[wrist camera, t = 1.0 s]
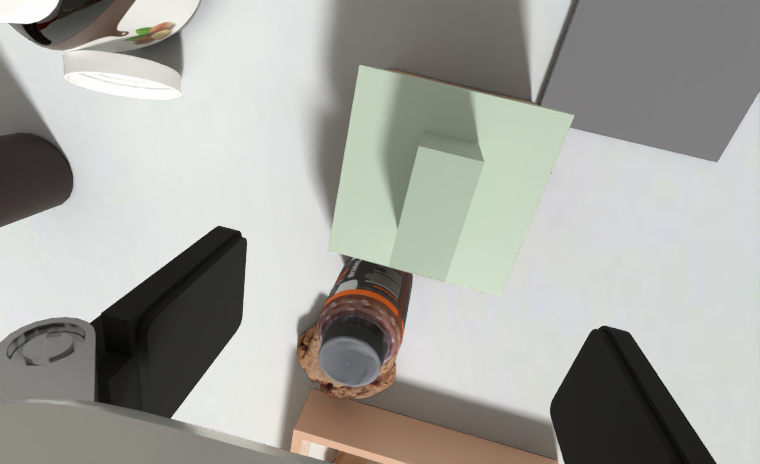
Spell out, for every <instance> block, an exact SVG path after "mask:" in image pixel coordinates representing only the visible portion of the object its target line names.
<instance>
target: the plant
mask: <svg viewBox="0 0 760 464" xmlns="http://www.w3.org/2000/svg"><path fill="white" fill-rule="evenodd" d="M332 463H333V464H383V463H379V462H376V461H373V460H370V459H366V458H363V457H360V456H356V455H353V454H350V453H346V452H343V451H340V450H338V453H337V457H336V459H335V460H334V461H333V462H332Z"/></svg>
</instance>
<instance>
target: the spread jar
mask: <svg viewBox="0 0 760 464" xmlns="http://www.w3.org/2000/svg"><path fill="white" fill-rule="evenodd" d="M200 3H201V0H0V22H6V23H8V24H9V25H11V26H12V27H13V28H14V29H15V30H16V31H17V32H19V33H20V34H21V35H22V36H24V37H25V38H27V39H28V40H30V41H32V42H33V43H35V44H37V45H39V46H41V47H45V48H48V49H51V50H59V51H70V52H67V53H65V54H64V55H63V61H64V77H65V79H66V80H67V81H69V82H71V83H73V84H75V85H78V86H81V87H84V88H87V89H91V90H95V91H99V92H104V93H108V94H114V95H119V96H126V97H134V98H144V99H174V98H178V97H180V96H181V75H180V74H179V73H178V72H177V71H175V70H174V69H172V68H170V67H168V66H166V65H163V64H160V63H158V62H154V61H151V60H148V59H144V58H140V57H136V56H131V55H126V54H120V53H114V52H119V51H127V50H133V49H138V48H143V47H146V46H149V45H152V44H155V43H158V42H161V41H163V40H166V39H168V38H170V37H172V36H174V35H175V34H177V33H179V32H180V31H181V30H182V29H184V28H185V27H186V26H187V25H188V24H189V22H190V21H191V20H192V18H193V17H194V15H195V14H196V12H197V10H198V8H199V6H200Z"/></svg>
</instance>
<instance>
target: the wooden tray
mask: <svg viewBox="0 0 760 464" xmlns="http://www.w3.org/2000/svg"><path fill="white" fill-rule="evenodd" d="M310 442H313V443H317V444H320V445H323V446H327V447H330V448H333V449H337V450H340V451H343V452H346V453H350V454H353V455H356V456H360V457H363V458H366V459H370V460H373V461H376V462H379V463H383V464H559V463H558V461H557V460H553V459H550V458H546V457H543V456H540V455H536V454H533V453H529V452H526V451H523V450H519V449H516V448H512V447H509V446H506V445H502V444H499V443H495V442H492V441H489V440H485V439H482V438H478V437H475V436H471V435H468V434H465V433H461V432H458V431H454V430H451V429H448V428H444V427H441V426H437V425H434V424H431V423H427V422H424V421H420V420H417V419H414V418H410V417H407V416H403V415H400V414H396V413H393V412H390V411H386V410H383V409H379V408H376V407H373V406H369V405H366V404H362V403H359V402H356V401H352V400H349V399H335V398H329V397H326V396H325V395H324V394H323V392H322V391H318V390H315V389H311V390H310V392H309V395H308V397H307V399H306V402H305V404H304V406H303V409H302V411H301V413H300V416H299V418H298V420H297V423H296V425H295V427H294V430H293V437H292V443H291V449H290V452H294V453H297V454H301V455H304V456H308V452H309V447H310Z"/></svg>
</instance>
